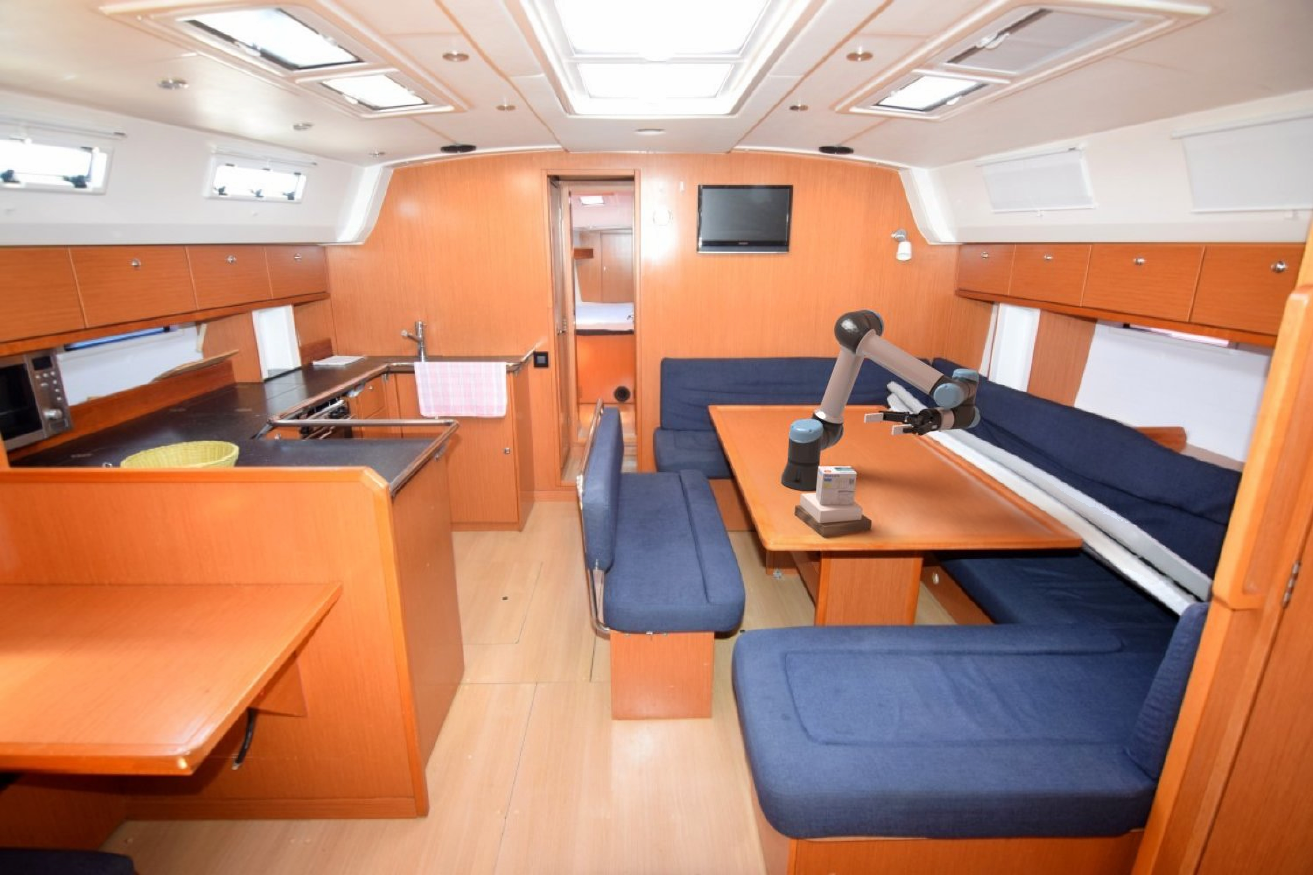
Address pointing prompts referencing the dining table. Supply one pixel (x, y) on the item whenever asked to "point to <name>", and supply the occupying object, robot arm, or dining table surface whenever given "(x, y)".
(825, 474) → the light bulb box
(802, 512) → the walnut slab
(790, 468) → the robot arm
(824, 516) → the white slab
